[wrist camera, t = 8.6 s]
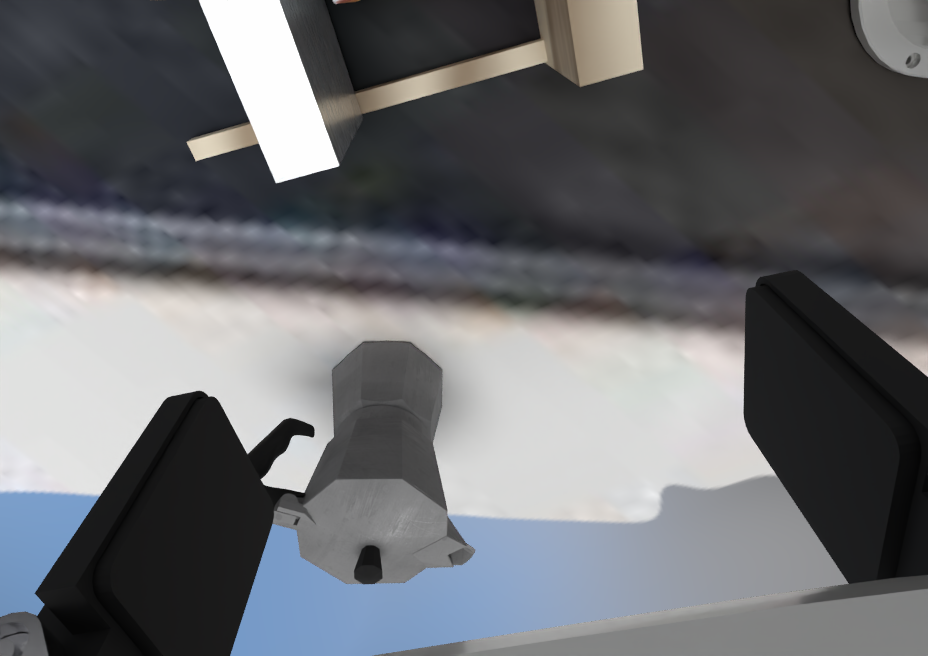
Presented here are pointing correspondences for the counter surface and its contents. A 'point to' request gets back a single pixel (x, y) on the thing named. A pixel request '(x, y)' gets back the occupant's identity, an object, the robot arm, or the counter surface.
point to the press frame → (503, 62)
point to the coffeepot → (372, 473)
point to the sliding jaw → (288, 80)
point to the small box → (344, 1)
